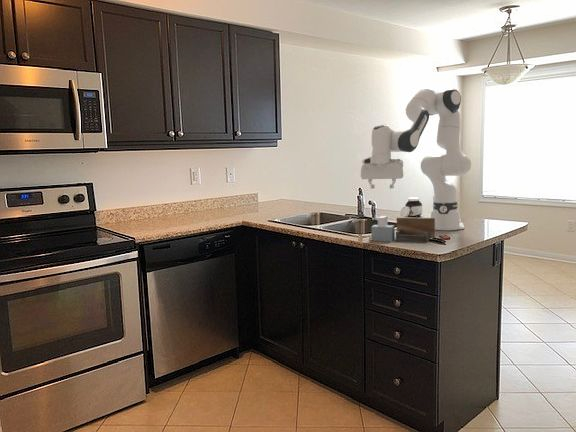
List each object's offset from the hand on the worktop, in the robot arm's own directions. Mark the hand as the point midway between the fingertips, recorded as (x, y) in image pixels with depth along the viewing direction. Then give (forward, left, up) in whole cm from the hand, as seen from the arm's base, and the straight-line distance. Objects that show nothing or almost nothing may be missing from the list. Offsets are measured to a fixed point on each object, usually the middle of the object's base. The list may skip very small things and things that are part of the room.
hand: (382, 188), depth 225 cm
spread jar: (-72, -4, -26) cm, 77 cm away
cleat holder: (-3, +14, -25) cm, 29 cm away
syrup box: (-64, +15, -26) cm, 71 cm away
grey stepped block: (0, 0, -25) cm, 25 cm away
